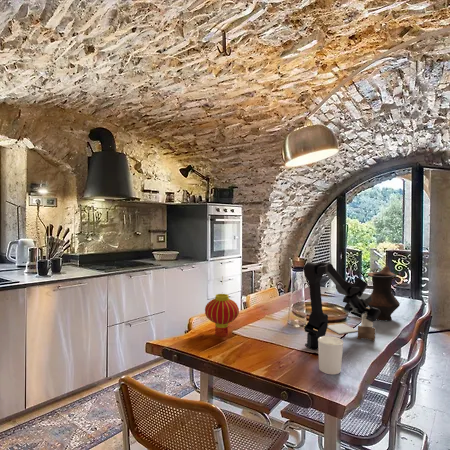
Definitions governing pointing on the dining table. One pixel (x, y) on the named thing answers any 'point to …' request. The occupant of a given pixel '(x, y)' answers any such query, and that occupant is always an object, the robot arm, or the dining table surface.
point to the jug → (383, 294)
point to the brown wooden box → (366, 333)
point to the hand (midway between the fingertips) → (368, 320)
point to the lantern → (221, 312)
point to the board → (341, 328)
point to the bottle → (366, 321)
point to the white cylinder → (330, 354)
